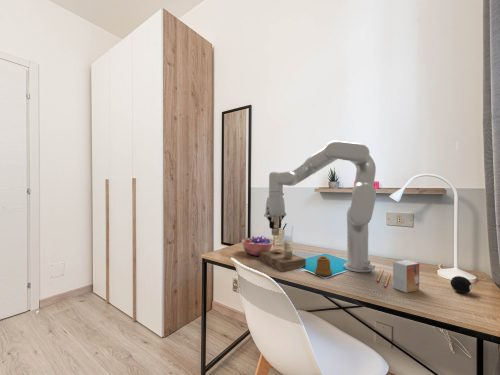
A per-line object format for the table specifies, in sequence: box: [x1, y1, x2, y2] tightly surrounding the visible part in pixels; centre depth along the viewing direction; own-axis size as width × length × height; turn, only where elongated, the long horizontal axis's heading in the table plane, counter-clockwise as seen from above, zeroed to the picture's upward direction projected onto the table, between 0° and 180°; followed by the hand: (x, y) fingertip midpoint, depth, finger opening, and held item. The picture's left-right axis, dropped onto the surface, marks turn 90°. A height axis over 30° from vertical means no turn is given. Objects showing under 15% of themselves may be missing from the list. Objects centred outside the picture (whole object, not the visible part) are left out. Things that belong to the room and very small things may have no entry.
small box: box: [392, 259, 420, 293], centre depth 96 cm, size 8×6×10 cm
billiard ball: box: [450, 275, 473, 294], centre depth 92 cm, size 6×6×6 cm
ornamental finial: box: [314, 255, 333, 277], centre depth 112 cm, size 8×8×8 cm
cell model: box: [241, 235, 274, 257], centre depth 144 cm, size 17×20×11 cm
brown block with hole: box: [258, 241, 307, 272], centre depth 128 cm, size 22×14×12 cm, turn 29°
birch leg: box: [271, 215, 280, 236], centre depth 132 cm, size 4×4×12 cm
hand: (275, 227), depth 132 cm, fingers closed on birch leg, 4 cm apart
